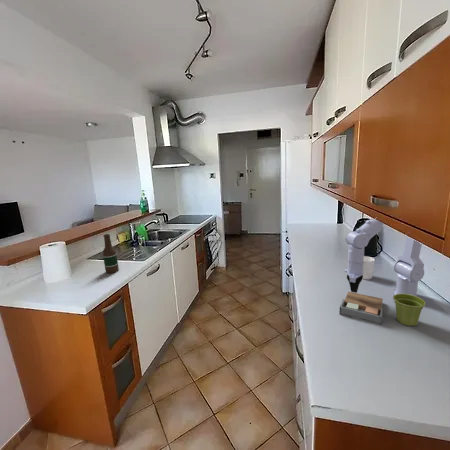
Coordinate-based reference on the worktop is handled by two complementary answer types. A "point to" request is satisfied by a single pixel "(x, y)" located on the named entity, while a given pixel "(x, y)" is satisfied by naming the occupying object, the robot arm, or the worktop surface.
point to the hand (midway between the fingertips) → (354, 291)
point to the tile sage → (352, 306)
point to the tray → (360, 314)
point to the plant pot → (408, 308)
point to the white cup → (368, 267)
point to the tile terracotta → (371, 310)
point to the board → (364, 301)
